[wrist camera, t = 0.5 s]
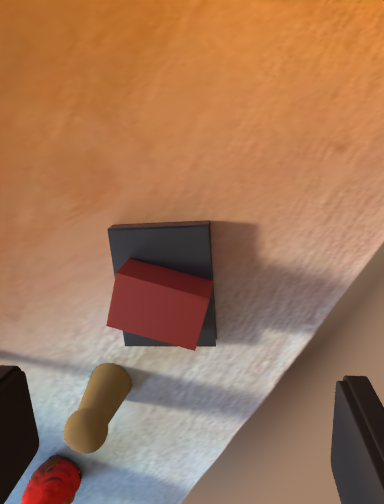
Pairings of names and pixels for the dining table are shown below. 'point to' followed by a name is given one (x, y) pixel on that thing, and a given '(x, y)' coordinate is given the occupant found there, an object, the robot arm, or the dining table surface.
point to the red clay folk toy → (53, 482)
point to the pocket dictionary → (159, 303)
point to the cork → (97, 408)
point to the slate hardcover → (167, 261)
